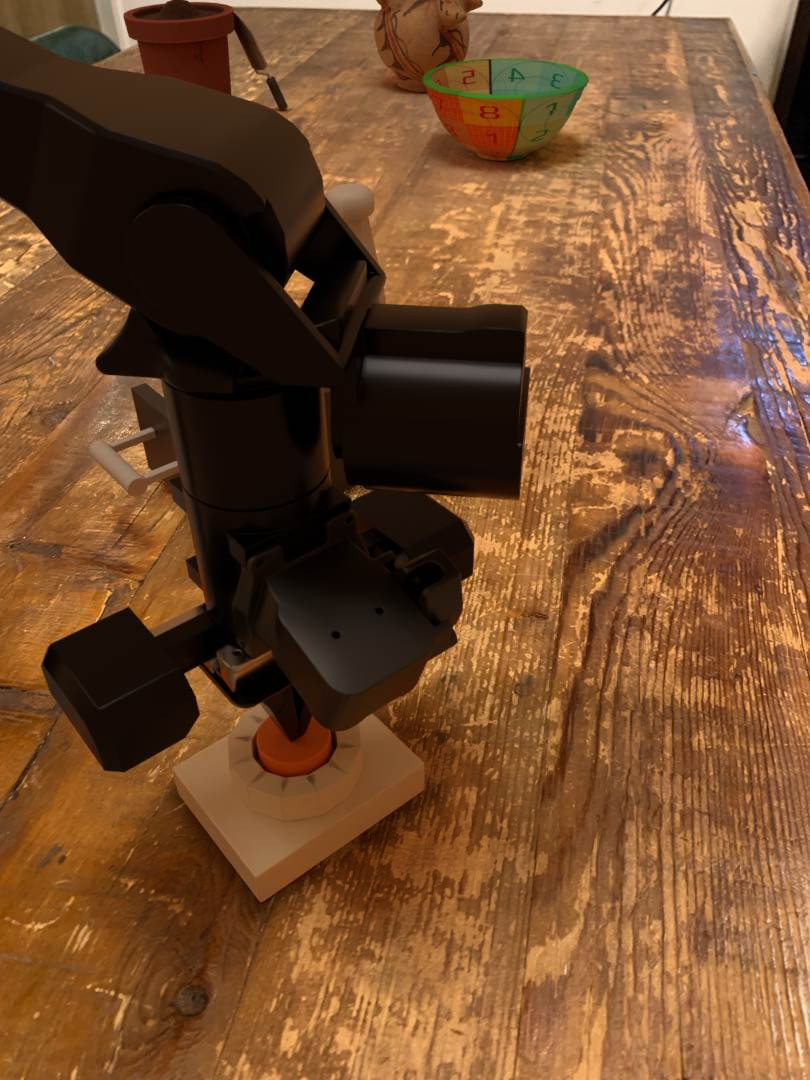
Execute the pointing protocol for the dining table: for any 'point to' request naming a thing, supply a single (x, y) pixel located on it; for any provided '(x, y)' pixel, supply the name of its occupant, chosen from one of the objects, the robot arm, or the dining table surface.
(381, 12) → the ceramic vessel
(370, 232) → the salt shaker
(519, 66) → the bowl
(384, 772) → the control block
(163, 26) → the potted plant
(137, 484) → the dark brown drawer
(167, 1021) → the dining table surface
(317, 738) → the button
